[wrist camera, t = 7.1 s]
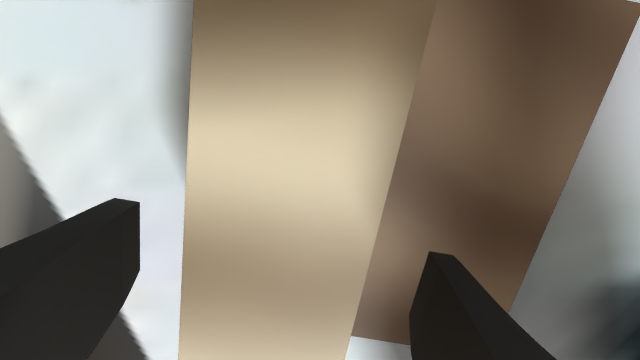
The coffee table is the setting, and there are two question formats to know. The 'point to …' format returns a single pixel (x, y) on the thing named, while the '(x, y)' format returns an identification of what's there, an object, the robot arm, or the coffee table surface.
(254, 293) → the beech bar
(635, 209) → the coffee table surface
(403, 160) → the board
